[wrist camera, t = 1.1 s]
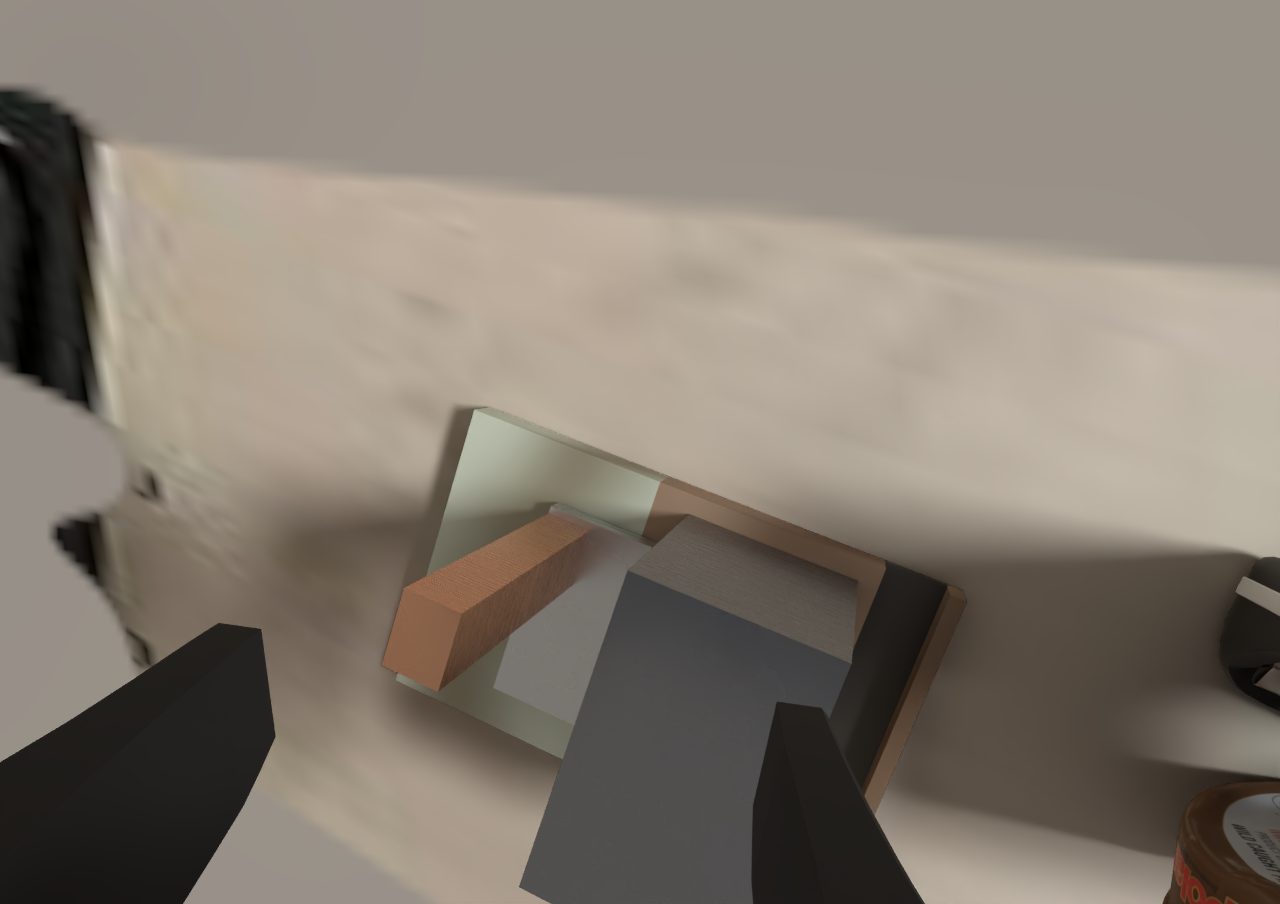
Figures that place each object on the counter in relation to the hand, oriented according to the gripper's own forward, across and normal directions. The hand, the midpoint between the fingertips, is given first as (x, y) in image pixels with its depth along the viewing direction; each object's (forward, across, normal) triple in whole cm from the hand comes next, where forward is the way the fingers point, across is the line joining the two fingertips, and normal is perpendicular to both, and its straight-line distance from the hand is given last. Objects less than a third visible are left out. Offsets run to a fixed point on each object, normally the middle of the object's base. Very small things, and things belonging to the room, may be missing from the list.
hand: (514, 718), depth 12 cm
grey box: (+9, -4, +6) cm, 11 cm away
